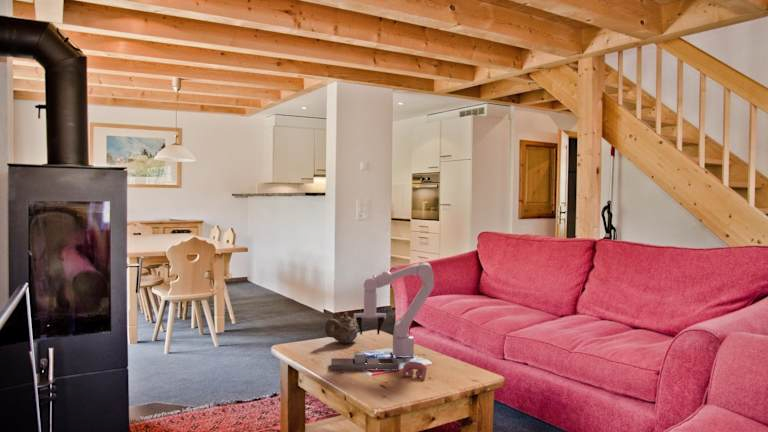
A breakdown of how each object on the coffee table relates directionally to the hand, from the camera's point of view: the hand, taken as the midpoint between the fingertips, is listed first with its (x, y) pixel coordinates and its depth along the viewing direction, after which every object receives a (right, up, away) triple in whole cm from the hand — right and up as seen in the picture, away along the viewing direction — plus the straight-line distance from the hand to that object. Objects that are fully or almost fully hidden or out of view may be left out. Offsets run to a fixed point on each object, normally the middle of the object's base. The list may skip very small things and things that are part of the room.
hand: (369, 333), depth 251 cm
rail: (-2, -11, -17) cm, 20 cm away
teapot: (-13, -8, +18) cm, 23 cm away
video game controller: (+19, -12, -27) cm, 35 cm away
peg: (-4, -11, -17) cm, 20 cm away
